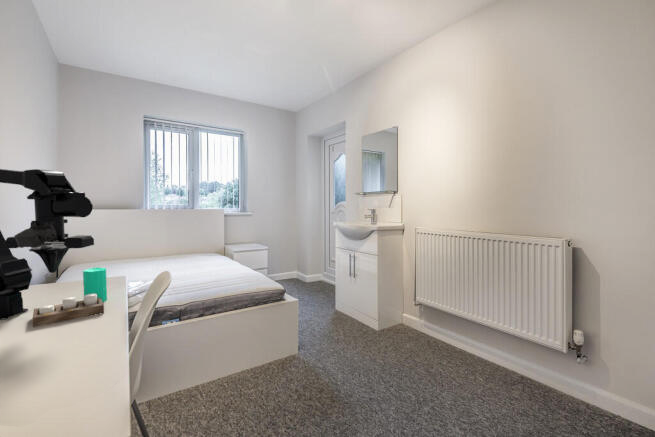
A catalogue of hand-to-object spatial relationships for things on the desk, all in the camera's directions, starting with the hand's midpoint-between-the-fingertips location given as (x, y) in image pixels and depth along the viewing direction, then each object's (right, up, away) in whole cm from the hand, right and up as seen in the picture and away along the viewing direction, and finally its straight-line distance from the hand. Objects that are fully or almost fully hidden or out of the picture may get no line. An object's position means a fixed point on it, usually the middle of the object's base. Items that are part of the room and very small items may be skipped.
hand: (52, 272), depth 83 cm
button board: (+2, -13, +3) cm, 13 cm away
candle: (0, -12, +15) cm, 19 cm away
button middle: (+2, -11, +3) cm, 12 cm away
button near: (-2, -13, 0) cm, 13 cm away
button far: (+5, -11, +6) cm, 14 cm away
